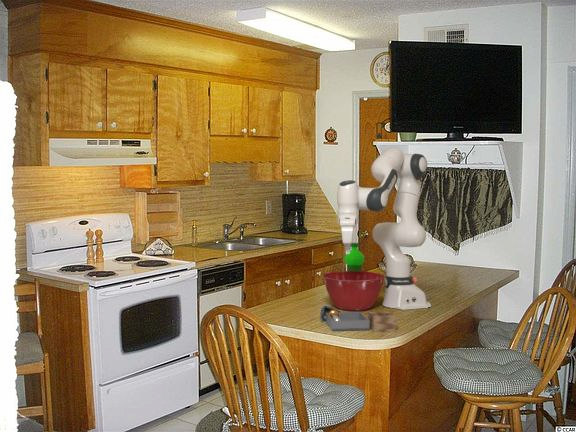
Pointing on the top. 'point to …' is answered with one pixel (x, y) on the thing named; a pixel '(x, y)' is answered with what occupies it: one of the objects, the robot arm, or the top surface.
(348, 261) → the plastic bottle
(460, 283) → the top surface
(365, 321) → the tray
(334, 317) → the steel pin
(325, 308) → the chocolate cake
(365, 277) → the mixing bowl
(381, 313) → the hitch block
